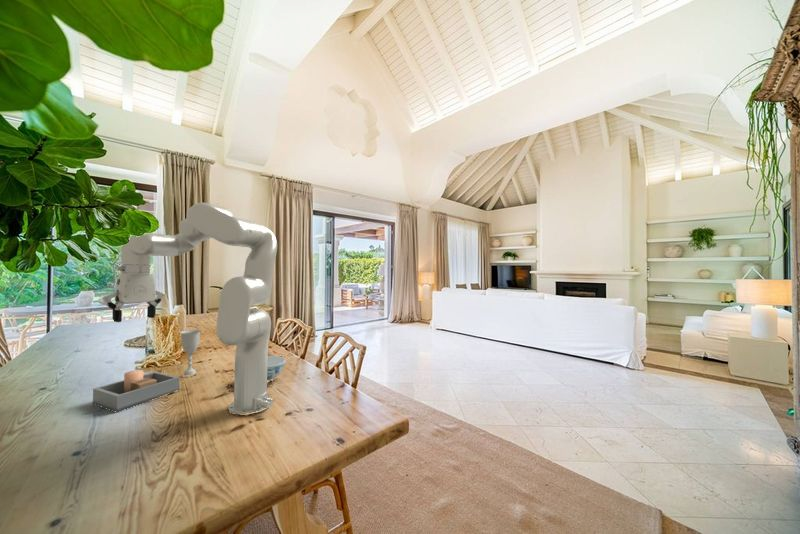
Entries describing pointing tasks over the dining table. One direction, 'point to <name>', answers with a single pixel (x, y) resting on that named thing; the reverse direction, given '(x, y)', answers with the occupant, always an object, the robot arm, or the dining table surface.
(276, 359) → the chinaware
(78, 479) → the dining table surface
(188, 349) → the chalice
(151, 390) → the tray
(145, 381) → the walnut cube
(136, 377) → the terracotta cylinder
